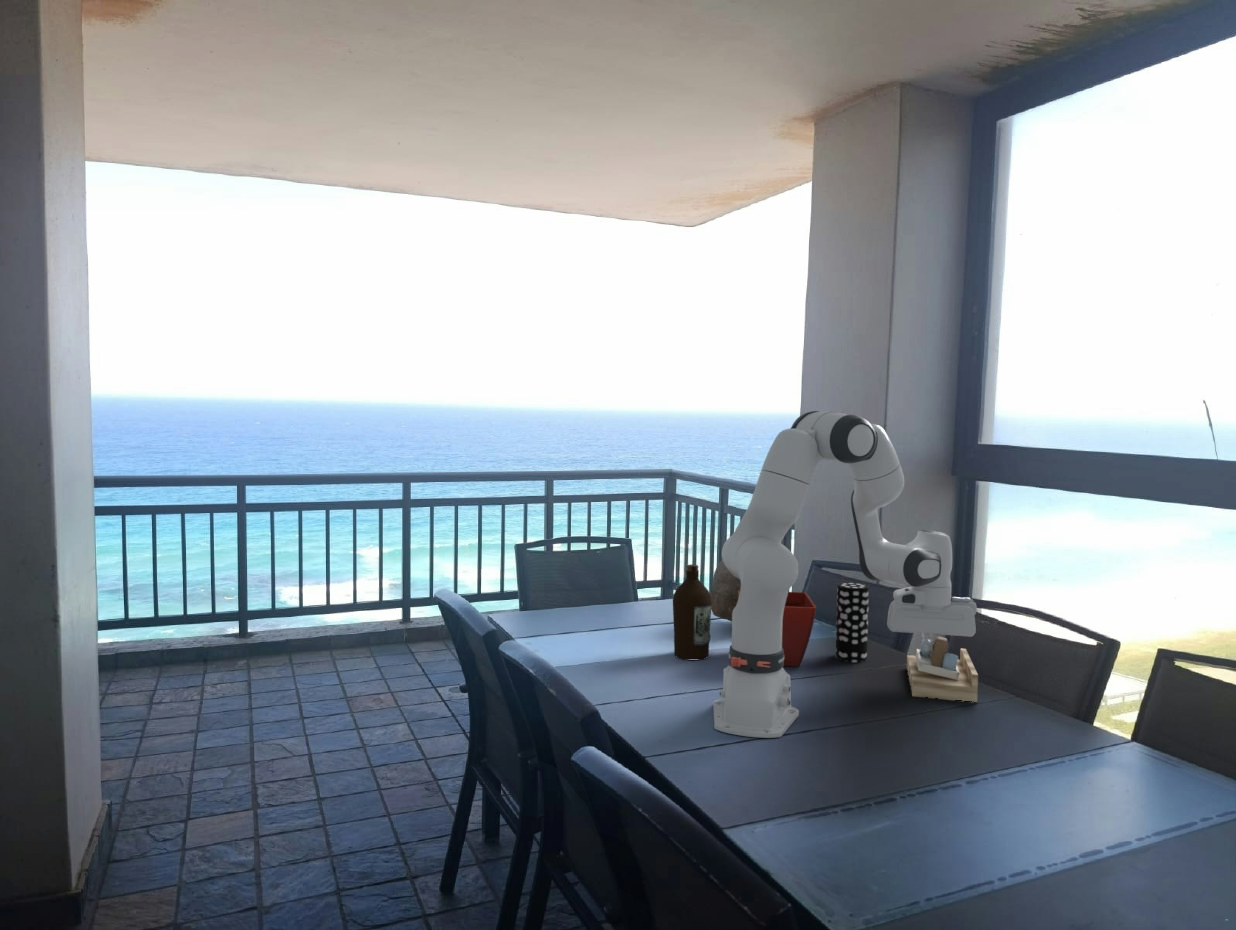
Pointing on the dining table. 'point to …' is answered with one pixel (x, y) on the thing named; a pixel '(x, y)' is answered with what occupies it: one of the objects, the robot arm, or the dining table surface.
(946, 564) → the robot arm
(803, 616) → the plant pot
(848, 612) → the white-spotted black cylinder
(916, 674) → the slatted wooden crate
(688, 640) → the olive oil
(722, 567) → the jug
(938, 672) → the caddy tray
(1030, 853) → the dining table surface
